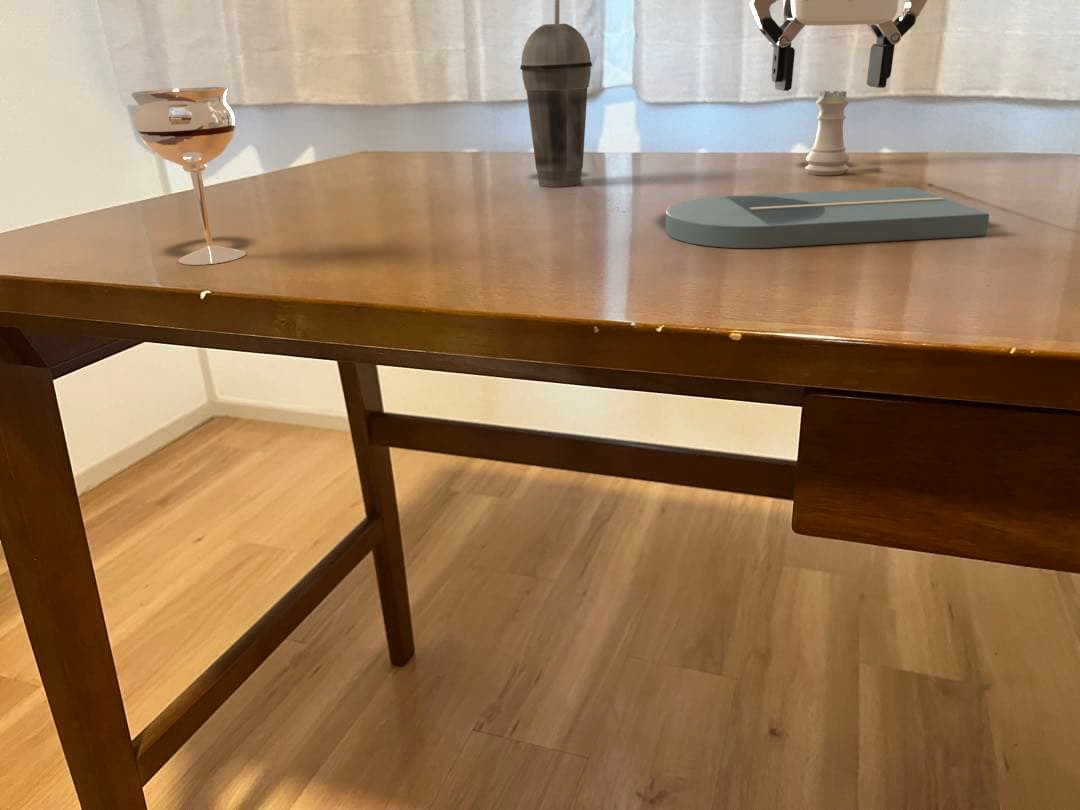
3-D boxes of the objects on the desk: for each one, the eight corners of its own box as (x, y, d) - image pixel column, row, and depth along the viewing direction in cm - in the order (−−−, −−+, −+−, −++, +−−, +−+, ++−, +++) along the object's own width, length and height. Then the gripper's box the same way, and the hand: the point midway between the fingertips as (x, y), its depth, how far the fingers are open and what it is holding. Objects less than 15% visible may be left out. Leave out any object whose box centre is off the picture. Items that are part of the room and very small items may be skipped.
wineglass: (198, 245, 69) (166, 88, 65) (274, 246, 68) (247, 85, 63) (145, 267, 63) (106, 95, 58) (227, 268, 62) (194, 92, 57)
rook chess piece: (797, 170, 92) (803, 91, 89) (838, 168, 92) (845, 89, 89) (813, 177, 88) (820, 94, 85) (856, 174, 88) (864, 92, 85)
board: (909, 205, 73) (912, 185, 72) (986, 236, 62) (990, 212, 61) (652, 219, 72) (653, 199, 71) (684, 252, 61) (684, 228, 60)
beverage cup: (515, 188, 89) (504, -27, 81) (538, 177, 95) (530, -24, 87) (583, 189, 86) (578, -32, 78) (602, 178, 93) (599, -29, 85)
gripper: (771, -111, 76) (756, 93, 83) (960, -114, 77) (930, 88, 84) (747, -100, 83) (735, 88, 90) (921, -103, 84) (896, 83, 91)
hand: (829, 88), depth 87 cm, fingers open, 9 cm apart
